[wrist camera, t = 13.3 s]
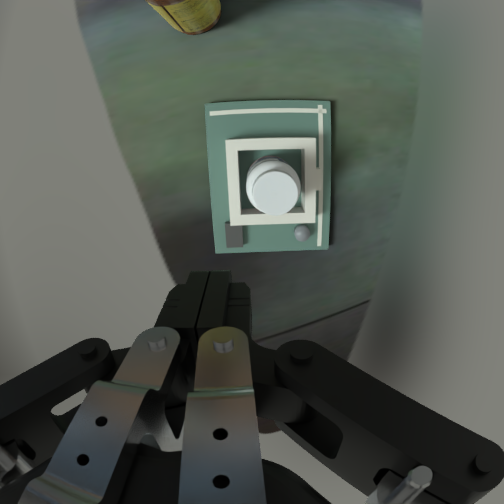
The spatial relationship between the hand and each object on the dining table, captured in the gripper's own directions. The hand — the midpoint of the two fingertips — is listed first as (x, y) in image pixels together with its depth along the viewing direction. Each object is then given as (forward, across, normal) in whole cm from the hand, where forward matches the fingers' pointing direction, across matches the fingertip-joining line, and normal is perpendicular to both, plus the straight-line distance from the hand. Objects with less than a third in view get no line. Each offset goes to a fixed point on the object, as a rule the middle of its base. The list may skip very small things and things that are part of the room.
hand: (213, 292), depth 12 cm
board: (+26, -4, 0) cm, 26 cm away
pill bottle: (+25, -4, 0) cm, 25 cm away
